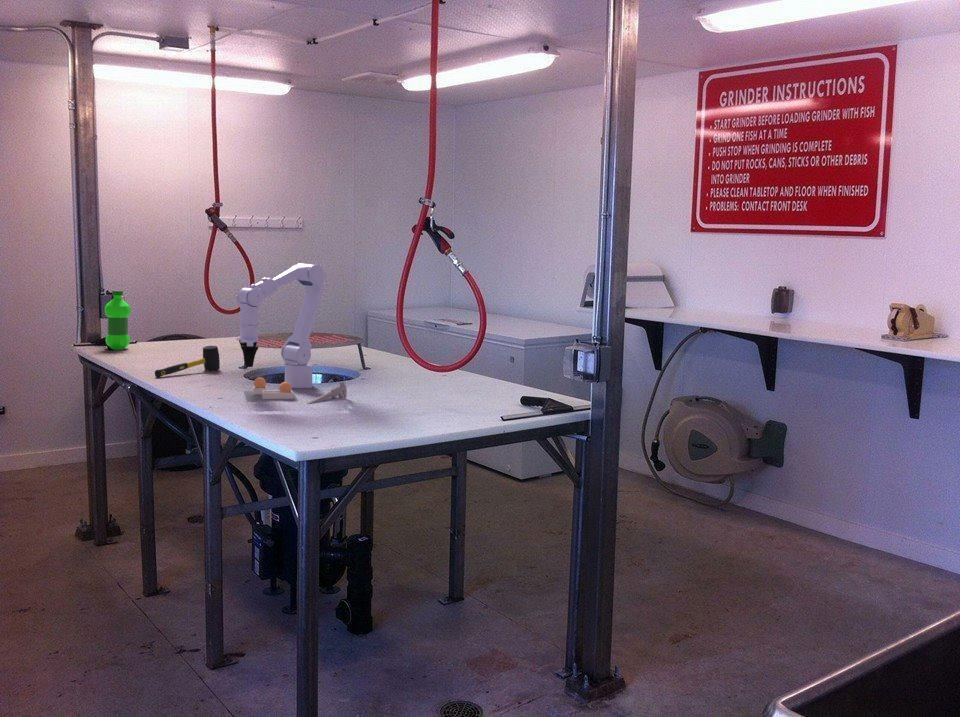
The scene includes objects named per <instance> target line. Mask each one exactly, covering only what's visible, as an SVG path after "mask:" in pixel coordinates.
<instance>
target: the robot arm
mask: <svg viewBox="0 0 960 717" xmlns="http://www.w3.org/2000/svg"><path fill="white" fill-rule="evenodd" d="M325 277H326V272H325V271H324V269H323V267H322V266H321V265H320V264H315V263H314V264H313V263H304V262H299V263H297V264H294V265H292V266H291V267H290V268H289V269H286V270H285V271H283V272H282V273H280V274H279V275H277V276H275V277H273V278H271V277H263V278H261V280H260V281H258V282H257V283H252V284H250V286H249V287H242V288H241V289H240V291H239V292H238V295H236V300H237V302H238V303H239V309H240V312H239V313H240V315H239V316H240V318H239V320H240V321H239V322H240V325H239V336H237V337H236V341H239V346H240V348H241V351H242V354H243V362H244V365H245V367H246V368H253V367H254V362H255V358H256V353H257V351H258V350H259V346H258V345H257V344H258V341H259V306H260V305H261V304H262V302H263V300H265V299H267V298H269V297H270V296H273V295H275V294H276V293H277V292H278V288H281V287H282V286H285V285H288V284H289V283H291V282H294V281H296V280H297V282H299V284H300V285H301V286H302V287H303V289H304V291H305V295H304V298H303V302H302V305H301V308H300V312H299V314H298V318H297V321H296V324H295V327H294V330H293V332H292V333H293V334H292V335H291V336H289V337H288V338H287V339H286V342H285V343H284V345H282V346H281V350H280V356H281V358H282V360H283V363H285V364H284V382H288V383H290V384H291V386H292V389H304V388H305V389H310V388H311V389H312V388H313V365H312V364H311V363H308V362H309V361H310V359H311V358H312V350H311V349H312V347H313V345H312V343H311V341H310V339H309V338H310V336H311V331H312V330H313V326H314V322H315V319H316V315H317V314H318V310H319V306H320V303H321V301H322V297H323V294H324V281H325ZM240 341H241V342H240Z"/></svg>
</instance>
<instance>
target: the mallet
mask: <svg viewBox="0 0 960 717" xmlns="http://www.w3.org/2000/svg"><path fill="white" fill-rule="evenodd" d="M220 364H221V363H220V352H219V347H218V346H216V345H206V346H204V347H203V348H202V358H200V359H197V360H196V359H195V360H193V361H192V360H191V361H188V362H183V363H179V364H178V363H177V364H174V365H170V366H167V367H165V368H162V369H155V370H154V376H155V377H156V379H157V378H161V377H163V376H167V375H171V374H174V373H175V374H176V373H179V372H181V371H184V370H188V369H191V368H193V367H196V366H200V365H203V366H204V367H203V368H204V371H206V370H217V371H218V369H219V370H220V367H221V366H220Z"/></svg>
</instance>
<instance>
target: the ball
mask: <svg viewBox="0 0 960 717" xmlns="http://www.w3.org/2000/svg"><path fill="white" fill-rule="evenodd" d="M253 386H255V387H256V388H265V386H266V387H267V381H266V379H265V378H264V377H256V378H255V379H254V381H253Z"/></svg>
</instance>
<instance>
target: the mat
mask: <svg viewBox="0 0 960 717" xmlns="http://www.w3.org/2000/svg"><path fill="white" fill-rule="evenodd" d="M243 393H244V396H245V399H246V402H248V403H249V402H250V403H251V402H252V403H253V402H254V403H255V402H259V403H260V402H299V399H298V398H297V396H296V394H294V398H293V399H263V398H262V394H253V390H243Z"/></svg>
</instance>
